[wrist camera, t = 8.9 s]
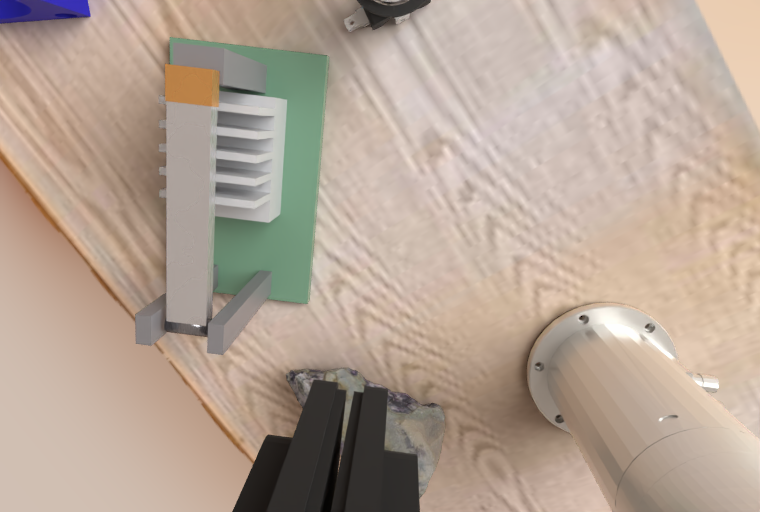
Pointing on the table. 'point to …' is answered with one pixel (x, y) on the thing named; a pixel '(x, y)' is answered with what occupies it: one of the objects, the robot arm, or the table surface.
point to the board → (257, 180)
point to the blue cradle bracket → (42, 10)
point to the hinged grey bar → (190, 196)
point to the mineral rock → (403, 422)
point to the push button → (382, 12)
